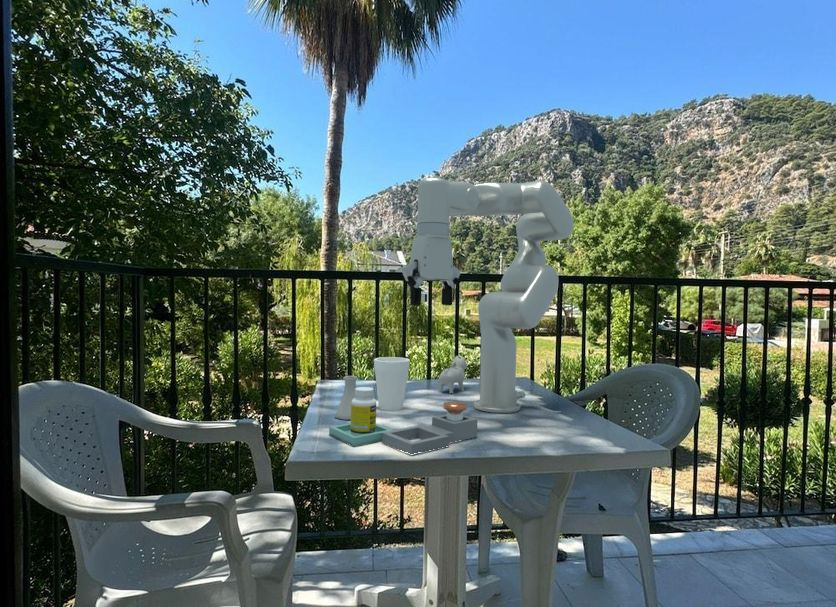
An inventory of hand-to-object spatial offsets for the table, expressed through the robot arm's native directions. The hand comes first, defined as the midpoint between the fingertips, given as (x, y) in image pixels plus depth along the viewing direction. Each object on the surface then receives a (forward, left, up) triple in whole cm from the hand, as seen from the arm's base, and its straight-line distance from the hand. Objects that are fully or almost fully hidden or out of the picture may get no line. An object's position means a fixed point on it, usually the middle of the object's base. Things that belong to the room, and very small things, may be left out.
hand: (431, 305), depth 123 cm
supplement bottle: (+19, 0, -28) cm, 33 cm away
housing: (+8, +11, -28) cm, 31 cm away
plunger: (+2, +11, -28) cm, 30 cm away
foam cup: (-2, -18, -28) cm, 34 cm away
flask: (+12, -16, -28) cm, 35 cm away
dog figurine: (-32, -26, -28) cm, 50 cm away
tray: (+19, 0, -28) cm, 34 cm away
